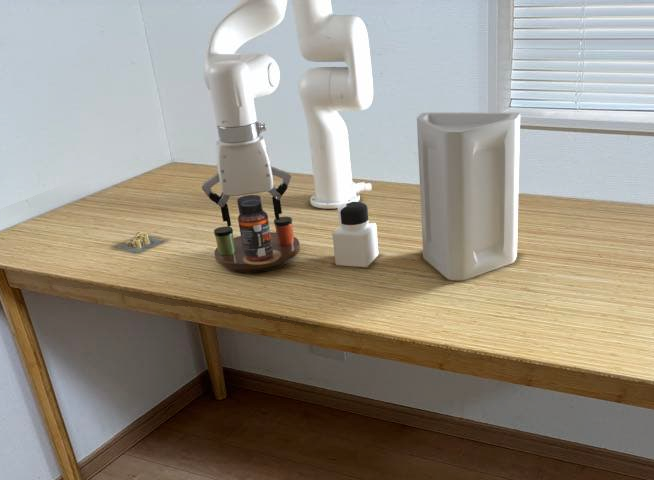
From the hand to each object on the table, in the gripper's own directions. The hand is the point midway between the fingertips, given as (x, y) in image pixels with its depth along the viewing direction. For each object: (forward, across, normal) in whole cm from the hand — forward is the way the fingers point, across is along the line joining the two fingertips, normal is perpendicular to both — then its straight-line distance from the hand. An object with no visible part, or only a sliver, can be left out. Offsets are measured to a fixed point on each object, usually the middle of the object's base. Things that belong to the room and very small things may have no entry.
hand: (253, 221), depth 154 cm
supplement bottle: (+8, 0, 0) cm, 8 cm away
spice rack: (+9, 0, -6) cm, 11 cm away
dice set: (+11, +26, -27) cm, 39 cm away
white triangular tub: (+11, -40, +13) cm, 43 cm away
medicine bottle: (+11, -20, +2) cm, 23 cm away
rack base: (+11, 0, -6) cm, 12 cm away
